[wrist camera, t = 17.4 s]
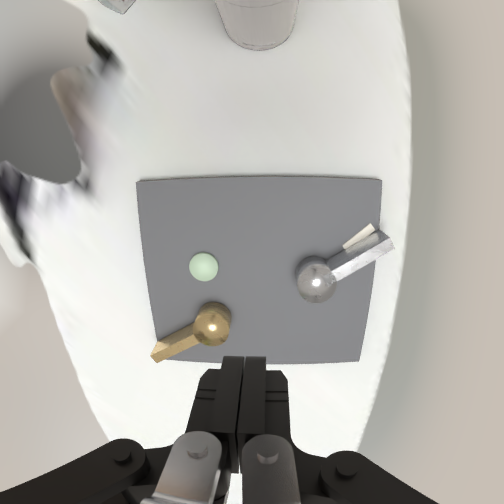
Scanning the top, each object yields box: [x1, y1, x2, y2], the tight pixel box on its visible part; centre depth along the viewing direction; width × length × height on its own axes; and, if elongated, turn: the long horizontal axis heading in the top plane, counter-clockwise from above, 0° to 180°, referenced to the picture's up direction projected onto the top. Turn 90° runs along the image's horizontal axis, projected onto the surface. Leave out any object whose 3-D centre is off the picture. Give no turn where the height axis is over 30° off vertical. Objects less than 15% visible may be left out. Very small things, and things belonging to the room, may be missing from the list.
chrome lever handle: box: [295, 230, 394, 303], centre depth 40 cm, size 14×5×4 cm, turn 122°
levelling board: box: [136, 176, 382, 364], centre depth 44 cm, size 29×33×2 cm
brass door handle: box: [150, 302, 232, 363], centre depth 45 cm, size 14×5×4 cm, turn 122°
